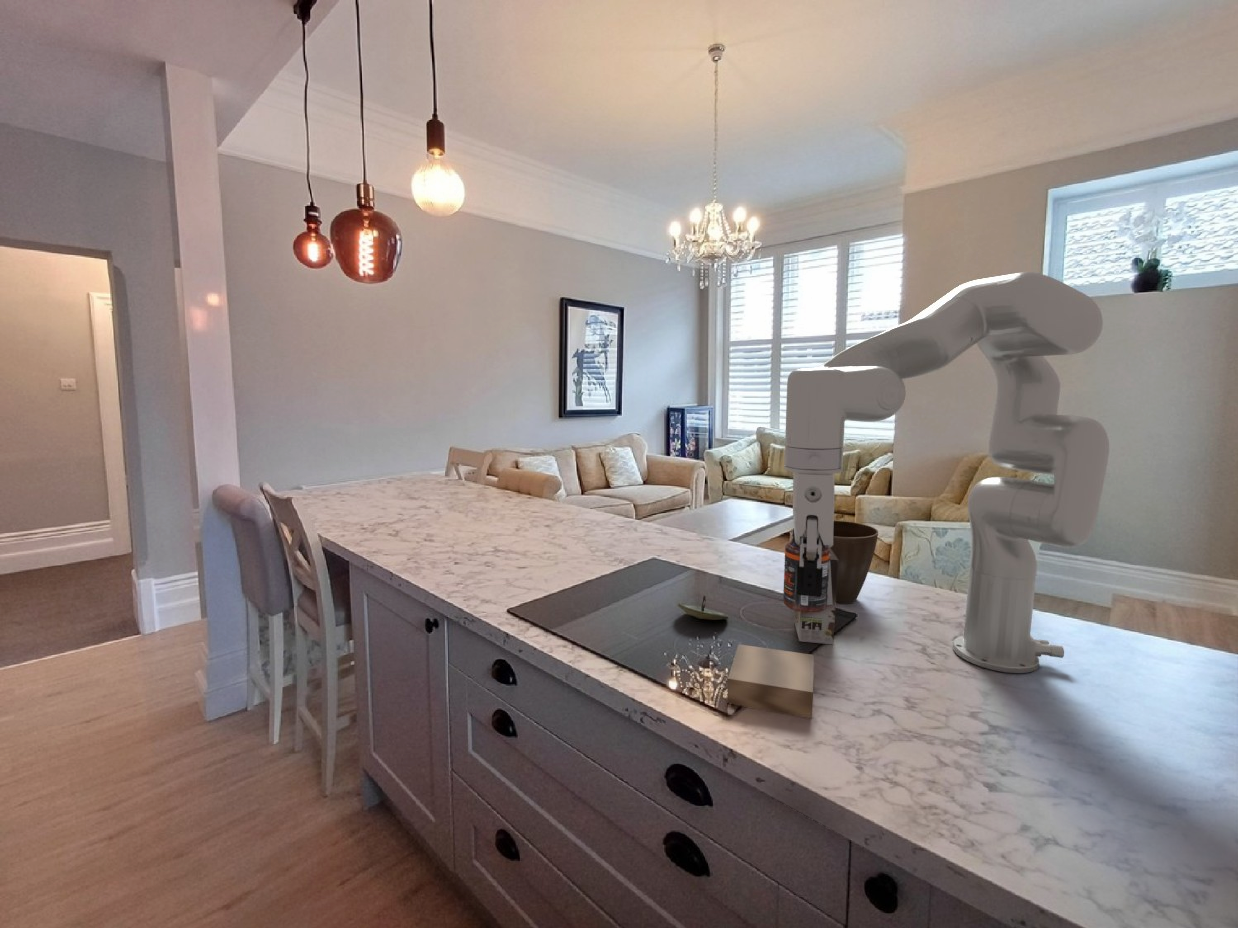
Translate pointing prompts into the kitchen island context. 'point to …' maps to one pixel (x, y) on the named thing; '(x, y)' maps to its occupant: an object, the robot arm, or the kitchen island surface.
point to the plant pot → (852, 557)
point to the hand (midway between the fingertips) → (808, 585)
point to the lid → (702, 611)
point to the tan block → (772, 680)
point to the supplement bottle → (790, 580)
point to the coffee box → (820, 613)
